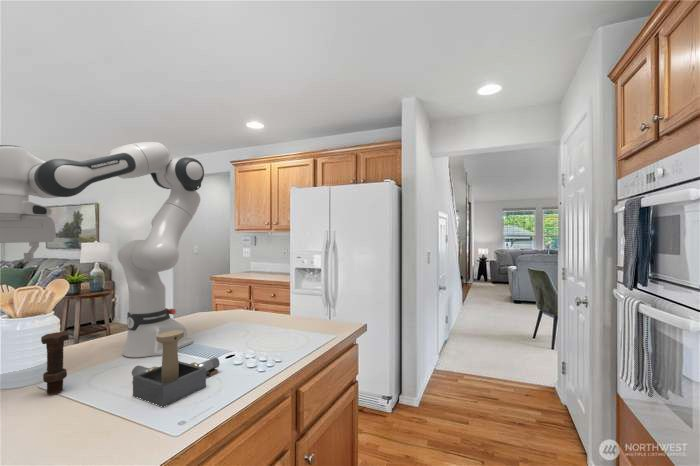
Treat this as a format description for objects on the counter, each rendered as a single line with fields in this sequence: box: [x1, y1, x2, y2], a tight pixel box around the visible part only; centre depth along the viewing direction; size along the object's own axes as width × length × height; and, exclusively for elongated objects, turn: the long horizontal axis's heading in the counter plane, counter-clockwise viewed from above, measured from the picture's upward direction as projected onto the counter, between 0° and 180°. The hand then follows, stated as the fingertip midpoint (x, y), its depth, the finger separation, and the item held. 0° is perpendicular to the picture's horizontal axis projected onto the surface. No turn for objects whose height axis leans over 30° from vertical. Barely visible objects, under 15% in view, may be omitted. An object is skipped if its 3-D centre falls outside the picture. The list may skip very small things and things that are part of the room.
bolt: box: [40, 331, 70, 396], centre depth 86 cm, size 6×5×15 cm
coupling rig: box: [131, 357, 220, 408], centre depth 92 cm, size 20×20×5 cm
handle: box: [156, 330, 184, 384], centre depth 87 cm, size 5×6×15 cm
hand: (4, 260), depth 86 cm, fingers open, 8 cm apart
